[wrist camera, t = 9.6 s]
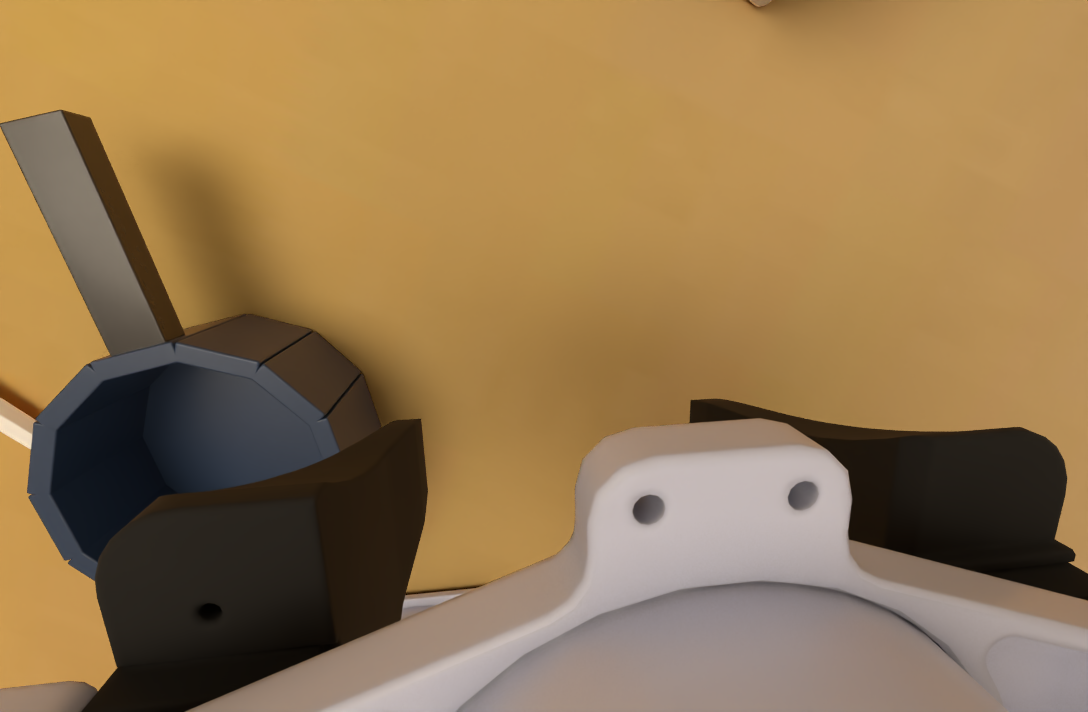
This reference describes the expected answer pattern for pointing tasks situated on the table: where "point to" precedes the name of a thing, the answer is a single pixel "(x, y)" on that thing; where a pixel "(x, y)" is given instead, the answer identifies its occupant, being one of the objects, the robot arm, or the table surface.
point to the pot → (162, 369)
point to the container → (760, 2)
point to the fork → (16, 423)
